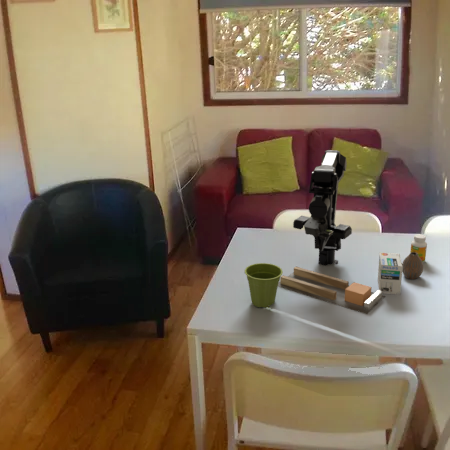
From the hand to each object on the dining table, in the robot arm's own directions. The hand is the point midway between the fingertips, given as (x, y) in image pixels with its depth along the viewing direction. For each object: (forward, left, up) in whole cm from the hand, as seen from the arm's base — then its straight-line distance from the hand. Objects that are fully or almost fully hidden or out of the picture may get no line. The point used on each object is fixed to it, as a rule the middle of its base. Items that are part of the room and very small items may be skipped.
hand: (321, 250), depth 179 cm
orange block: (+6, +17, -11) cm, 20 cm away
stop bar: (+5, +22, -11) cm, 25 cm away
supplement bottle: (-36, +21, -12) cm, 43 cm away
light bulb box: (-9, +21, -12) cm, 25 cm away
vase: (-22, +24, -12) cm, 34 cm away
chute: (+5, +6, -11) cm, 14 cm away
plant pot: (+23, -7, -12) cm, 27 cm away
